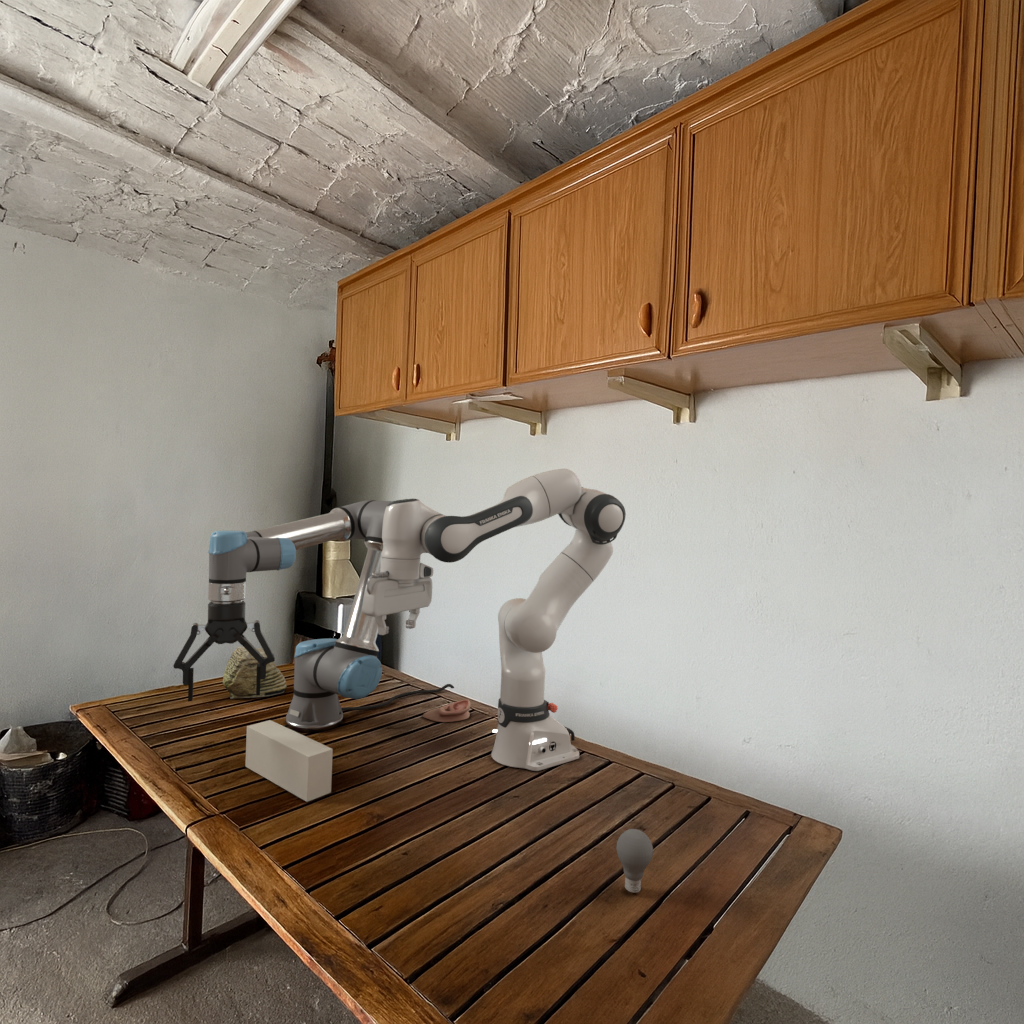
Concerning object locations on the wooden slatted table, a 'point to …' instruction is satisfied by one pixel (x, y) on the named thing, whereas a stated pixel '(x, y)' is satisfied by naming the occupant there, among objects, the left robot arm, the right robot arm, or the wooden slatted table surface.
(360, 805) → the wooden slatted table surface
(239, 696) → the fossil
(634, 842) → the light bulb
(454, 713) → the anatomical model
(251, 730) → the bar
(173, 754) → the wooden slatted table surface
